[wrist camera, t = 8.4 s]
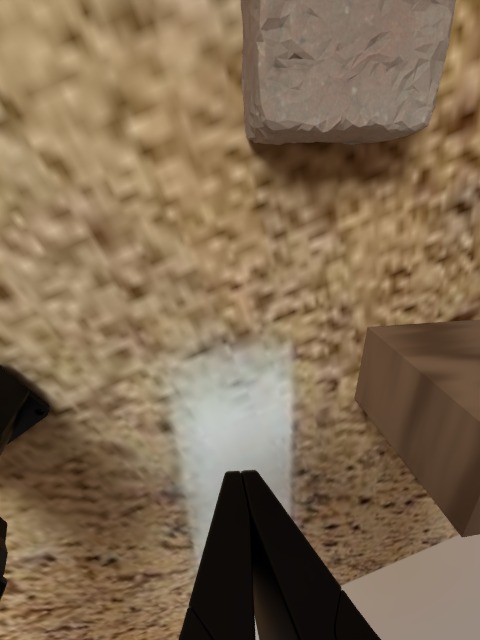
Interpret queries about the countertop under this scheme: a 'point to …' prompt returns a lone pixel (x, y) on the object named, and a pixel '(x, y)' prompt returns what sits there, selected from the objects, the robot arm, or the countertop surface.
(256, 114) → the brick
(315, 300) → the countertop surface
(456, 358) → the walnut box
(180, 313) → the countertop surface
